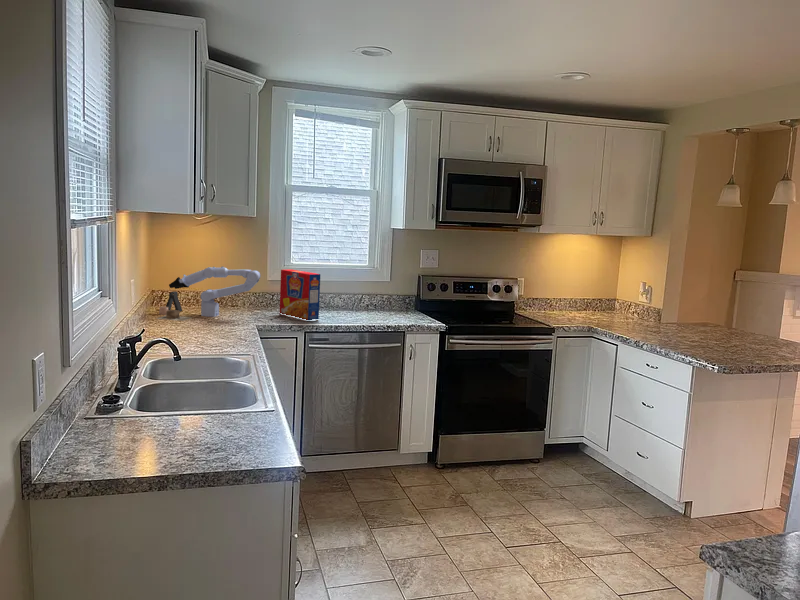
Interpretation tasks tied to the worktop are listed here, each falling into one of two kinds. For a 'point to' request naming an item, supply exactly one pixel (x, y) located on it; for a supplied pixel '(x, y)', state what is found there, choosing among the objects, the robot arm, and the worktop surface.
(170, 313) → the walnut block
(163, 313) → the terracotta cylinder
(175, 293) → the phone stand
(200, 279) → the robot arm
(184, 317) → the letter board
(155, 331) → the worktop surface
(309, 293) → the pasta box
